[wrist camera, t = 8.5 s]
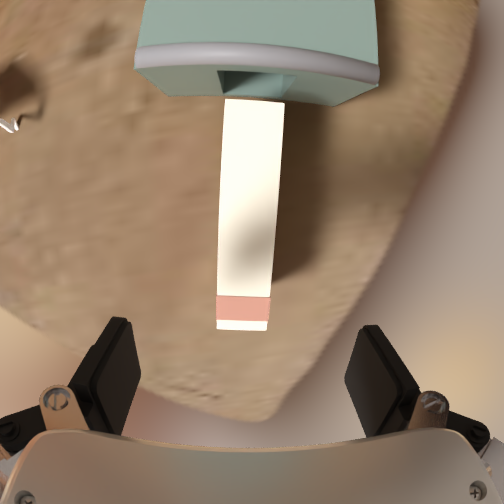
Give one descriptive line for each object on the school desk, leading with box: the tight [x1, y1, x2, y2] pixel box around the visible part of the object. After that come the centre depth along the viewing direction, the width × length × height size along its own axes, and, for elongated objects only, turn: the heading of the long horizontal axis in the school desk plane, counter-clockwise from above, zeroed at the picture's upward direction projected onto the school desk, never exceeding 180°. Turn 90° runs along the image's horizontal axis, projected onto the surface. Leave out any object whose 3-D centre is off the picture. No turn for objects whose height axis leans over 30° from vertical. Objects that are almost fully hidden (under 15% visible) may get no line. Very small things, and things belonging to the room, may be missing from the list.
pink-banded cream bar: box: [216, 99, 285, 331], centre depth 18 cm, size 13×3×5 cm, turn 176°
